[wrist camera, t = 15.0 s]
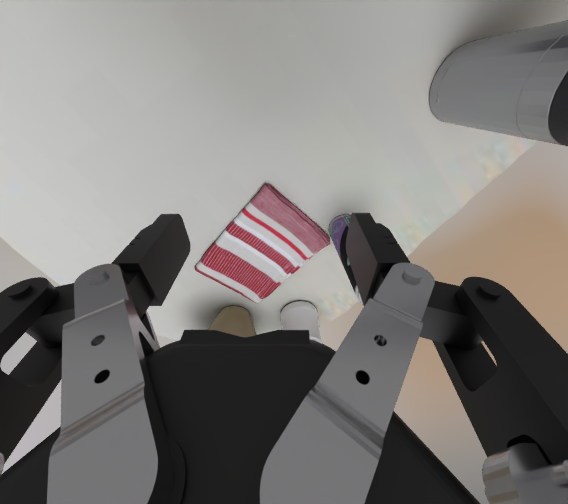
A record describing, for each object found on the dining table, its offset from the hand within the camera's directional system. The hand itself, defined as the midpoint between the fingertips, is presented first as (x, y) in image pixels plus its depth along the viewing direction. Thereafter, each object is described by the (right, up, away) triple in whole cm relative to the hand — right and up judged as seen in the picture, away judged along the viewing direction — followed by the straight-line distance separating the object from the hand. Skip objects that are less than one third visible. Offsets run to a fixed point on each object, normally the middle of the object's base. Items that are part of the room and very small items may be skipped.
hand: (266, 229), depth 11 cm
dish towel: (-4, -1, +36) cm, 36 cm away
